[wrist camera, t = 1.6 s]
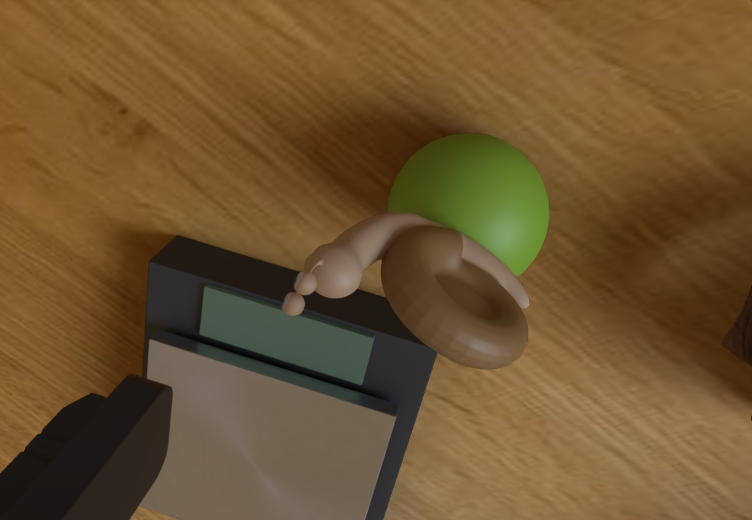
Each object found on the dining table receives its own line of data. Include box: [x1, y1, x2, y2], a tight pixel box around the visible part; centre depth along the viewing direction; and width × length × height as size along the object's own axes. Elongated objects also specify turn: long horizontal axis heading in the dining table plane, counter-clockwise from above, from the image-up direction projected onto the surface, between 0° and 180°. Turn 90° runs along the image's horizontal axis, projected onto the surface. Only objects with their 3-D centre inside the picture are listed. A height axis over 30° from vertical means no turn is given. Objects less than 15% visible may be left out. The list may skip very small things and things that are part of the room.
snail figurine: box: [282, 133, 549, 369], centre depth 20 cm, size 5×6×12 cm
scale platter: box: [139, 330, 400, 520], centre depth 30 cm, size 10×10×1 cm
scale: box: [142, 236, 437, 520], centre depth 31 cm, size 14×12×3 cm
